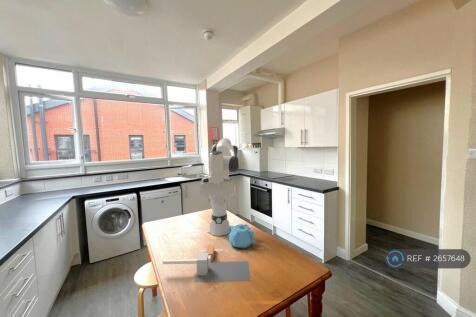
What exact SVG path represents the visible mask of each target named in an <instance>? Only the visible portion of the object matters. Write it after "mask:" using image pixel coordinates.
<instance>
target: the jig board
mask: <svg viewBox="0 0 476 317" xmlns="http://www.w3.org/2000/svg"><path fill="white" fill-rule="evenodd" d="M196 259H197V264H196V274H195V277H194V281H193V282H194V283H211V282H212V283H215V282H218V283H219V282H222V283H223V282H248V281H249V282H250V281H251V272H250V267H249V266H250V265H249V261H248V260H246V261H245V260H241V261H240V260H239V261H237V260H236V261H235V260H234V261H211V263H210V264H208V263H207V259H208V253H206V252H201V253H200V252H199V253H198V255H197V258H196Z"/></svg>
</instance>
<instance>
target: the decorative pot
mask: <svg viewBox="0 0 476 317" xmlns="http://www.w3.org/2000/svg"><path fill="white" fill-rule="evenodd" d="M229 226H230V227H229V233H228V234H227V237H228V242H229V244H230V245H231V246H232V247H235V248H240V249H242V250H245V249H246V248H248V247H250V246H251V245H253V244H256V243H255V242H256V241H255V239H254V238H255V232H254V230H252V229H251V227H250V226H249V225H248V224H247V223H246V224H242V223H239V224H236V225H234V226H233V225H229Z"/></svg>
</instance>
